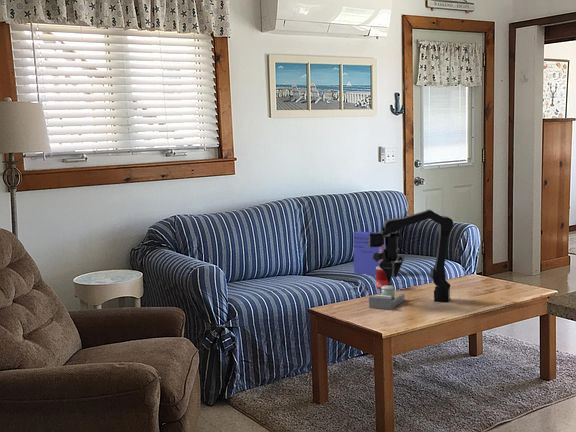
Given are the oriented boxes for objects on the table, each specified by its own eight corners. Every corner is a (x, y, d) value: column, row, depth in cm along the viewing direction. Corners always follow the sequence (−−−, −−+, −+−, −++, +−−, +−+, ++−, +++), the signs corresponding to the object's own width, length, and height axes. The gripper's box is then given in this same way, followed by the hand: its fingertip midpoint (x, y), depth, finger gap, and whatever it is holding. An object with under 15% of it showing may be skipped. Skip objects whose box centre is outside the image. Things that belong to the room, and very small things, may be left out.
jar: (396, 300, 305) (396, 285, 304) (392, 304, 300) (391, 288, 299) (384, 299, 308) (383, 284, 307) (379, 302, 303) (379, 287, 302)
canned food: (391, 290, 329) (391, 268, 327) (375, 289, 330) (375, 268, 329) (392, 286, 336) (391, 265, 335) (376, 286, 338) (376, 265, 337)
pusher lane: (404, 299, 309) (404, 289, 308) (390, 309, 292) (390, 298, 291) (383, 297, 314) (383, 287, 313) (369, 307, 297) (368, 297, 296)
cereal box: (386, 274, 365) (385, 232, 362) (382, 276, 361) (381, 233, 358) (358, 272, 374) (357, 231, 371) (354, 273, 370) (353, 232, 367)
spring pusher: (391, 305, 297) (391, 296, 296) (390, 306, 296) (390, 296, 295) (376, 304, 300) (375, 294, 300) (375, 304, 299) (375, 295, 299)
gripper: (381, 242, 314) (382, 274, 316) (367, 249, 298) (369, 282, 300) (404, 243, 309) (404, 275, 311) (391, 250, 293) (392, 284, 295)
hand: (392, 279), depth 304 cm, fingers open, 9 cm apart
